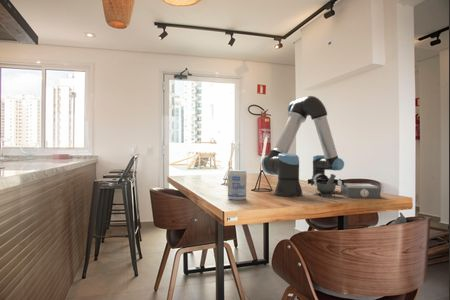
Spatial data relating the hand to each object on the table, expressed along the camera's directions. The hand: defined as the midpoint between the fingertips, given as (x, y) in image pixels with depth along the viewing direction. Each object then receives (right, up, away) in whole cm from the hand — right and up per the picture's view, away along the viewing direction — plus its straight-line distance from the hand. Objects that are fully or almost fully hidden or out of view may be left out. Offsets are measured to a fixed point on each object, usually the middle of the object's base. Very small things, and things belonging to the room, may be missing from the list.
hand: (328, 183), depth 156 cm
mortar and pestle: (-1, -7, 0) cm, 7 cm away
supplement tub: (-51, -7, -11) cm, 53 cm away
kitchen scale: (+18, -7, +1) cm, 19 cm away
